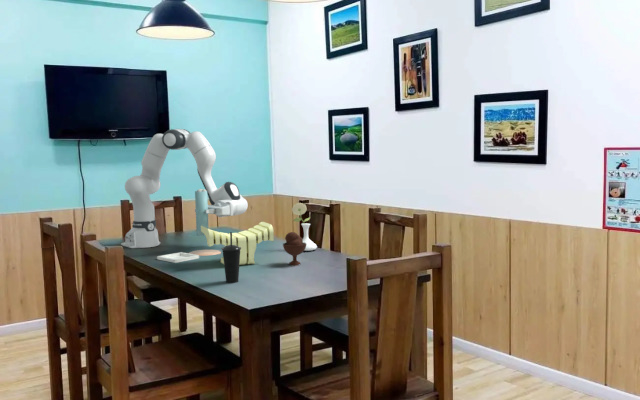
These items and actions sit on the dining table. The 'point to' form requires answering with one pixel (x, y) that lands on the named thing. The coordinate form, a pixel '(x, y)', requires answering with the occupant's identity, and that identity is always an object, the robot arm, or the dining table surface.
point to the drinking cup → (231, 261)
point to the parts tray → (177, 257)
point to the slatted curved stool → (242, 240)
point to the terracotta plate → (205, 252)
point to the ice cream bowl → (294, 246)
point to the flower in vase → (304, 225)
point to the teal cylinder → (201, 210)
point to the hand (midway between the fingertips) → (200, 211)
